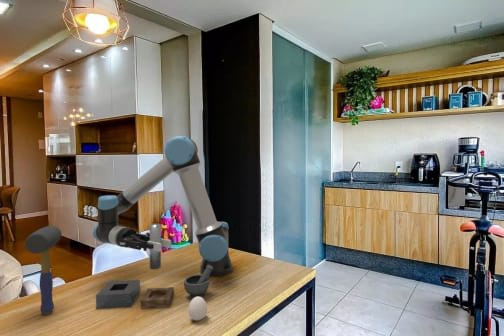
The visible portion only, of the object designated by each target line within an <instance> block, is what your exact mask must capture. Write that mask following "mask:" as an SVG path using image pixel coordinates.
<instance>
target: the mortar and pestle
mask: <svg viewBox="0 0 504 336" xmlns="http://www.w3.org/2000/svg"><path fill="white" fill-rule="evenodd" d="M212 270H213V267H212V266H210V265H207V266H206V269H205V271H204V273H203V274H202V273H201V274H194V275H190V276H187V277H185V278H184V281H183V286H184V290H185V291H186V293H187V294H188V299H189V300H190V302H191V301H192V299H193V298H195V297H197V296H199V297H202V298H203V299H204V300H205V299H206V293H207V292H208V289H209V287H210V283H211V278H210V276H209V275H210V272H211V271H212Z"/></svg>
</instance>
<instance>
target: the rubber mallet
mask: <svg viewBox="0 0 504 336" xmlns="http://www.w3.org/2000/svg"><path fill="white" fill-rule="evenodd" d="M62 236H63V235H62V231H61V229H60V228H59V227H58V226H55V225H47V226H45V227H42V228H39V229H37V230H36V231H34V232H32V233H31V234H30V235H29V236H28V237H27V238H26V239H25V242H24V248H25V249H26V250H27V251H28V252H29V253H31V254H40V267H41V269H40V271H41V272H40V275H39V291H40V299H41V300H40V302H41V303H40V308H39V311H40V312H41V314H42V315H50V314H51V313H53V310H54V309H55V305H54V302H53V288H54V287H53V286H54V285H53V284H54V283H53V282H54V281H53V276H52V275H53V274H52V271H51V256H50V255H51V254H50V249H51V248H52V247H54V246H55V245H56V244H57V243H59V242H60V240H61V239H62Z"/></svg>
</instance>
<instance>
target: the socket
mask: <svg viewBox="0 0 504 336" xmlns="http://www.w3.org/2000/svg"><path fill="white" fill-rule="evenodd" d="M140 293H141V280H140V279H125V280H109V281H108V282H107V283H106V284H105V285H104V286H103V287H102V288H101V289H100V290H99V291H98V292H97V294H96V295H95V309H96V310H98V309H99V310H100V309H103V310H104V309H116V308H119V309H120V308H121V309H122V308H131V307H132V306H133V304H134V303H135V301H136V299H137V298H138V296H139V294H140Z"/></svg>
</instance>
